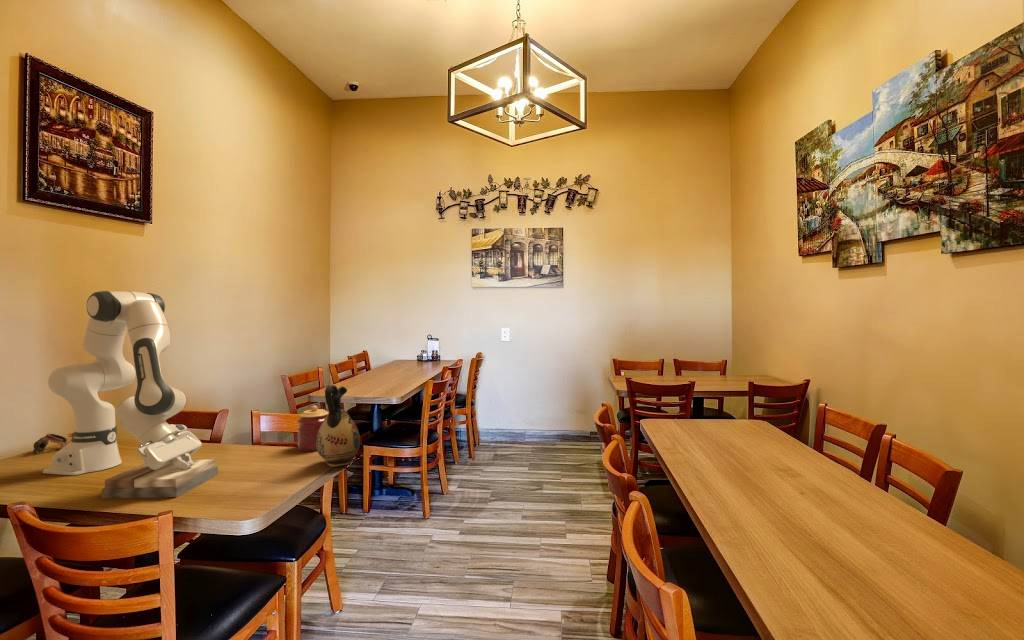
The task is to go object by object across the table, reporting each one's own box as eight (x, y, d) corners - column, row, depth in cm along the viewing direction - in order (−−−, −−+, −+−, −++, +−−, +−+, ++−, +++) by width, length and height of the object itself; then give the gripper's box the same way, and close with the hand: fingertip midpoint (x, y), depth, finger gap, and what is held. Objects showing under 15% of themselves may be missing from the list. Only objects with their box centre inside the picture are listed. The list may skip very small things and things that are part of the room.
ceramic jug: (329, 456, 181) (328, 380, 181) (367, 457, 180) (365, 380, 179) (305, 471, 164) (304, 387, 164) (347, 472, 163) (345, 387, 162)
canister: (326, 441, 203) (325, 401, 203) (335, 447, 193) (334, 405, 193) (294, 446, 195) (293, 405, 195) (302, 453, 185) (301, 410, 185)
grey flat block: (102, 498, 142) (101, 480, 142) (152, 475, 162) (152, 459, 162) (176, 497, 142) (176, 479, 142) (217, 474, 162) (217, 458, 162)
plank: (134, 487, 142) (133, 479, 142) (178, 467, 161) (178, 459, 161) (176, 487, 142) (175, 479, 142) (215, 466, 162) (215, 459, 161)
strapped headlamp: (39, 450, 196) (53, 432, 199) (62, 459, 197) (75, 440, 200) (18, 451, 185) (33, 431, 187) (43, 460, 186) (57, 440, 189)
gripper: (141, 439, 141) (173, 471, 141) (187, 423, 162) (216, 451, 162) (126, 454, 141) (159, 485, 141) (175, 436, 162) (203, 463, 162)
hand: (190, 467), depth 152 cm, fingers closed, pressing on plank
